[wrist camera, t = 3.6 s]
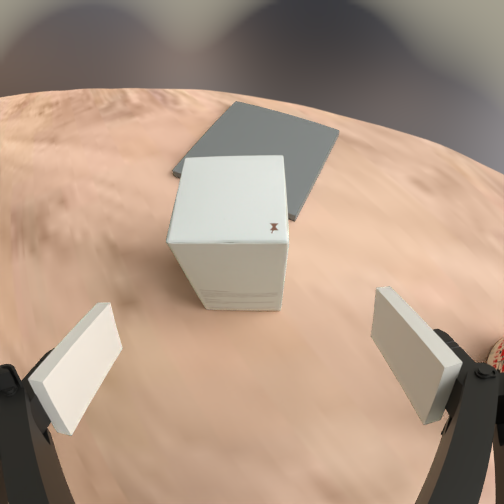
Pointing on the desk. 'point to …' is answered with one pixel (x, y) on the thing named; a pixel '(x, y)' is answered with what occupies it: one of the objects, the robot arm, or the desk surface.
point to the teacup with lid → (497, 356)
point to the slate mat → (270, 145)
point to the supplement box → (232, 230)
